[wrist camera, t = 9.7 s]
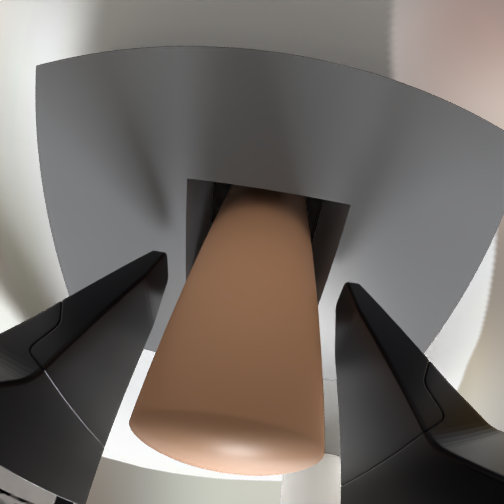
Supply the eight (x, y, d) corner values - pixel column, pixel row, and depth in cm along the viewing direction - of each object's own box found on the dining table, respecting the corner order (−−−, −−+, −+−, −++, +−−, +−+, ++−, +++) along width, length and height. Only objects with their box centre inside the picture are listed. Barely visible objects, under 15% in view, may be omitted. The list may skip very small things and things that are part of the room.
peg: (223, 233, 14) (147, 455, 5) (230, 161, 12) (106, 384, 3) (297, 245, 14) (296, 480, 5) (313, 175, 12) (358, 425, 3)
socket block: (113, 281, 16) (81, 330, 13) (98, 60, 9) (36, 65, 6) (385, 326, 16) (400, 382, 12) (469, 120, 9) (526, 144, 6)
